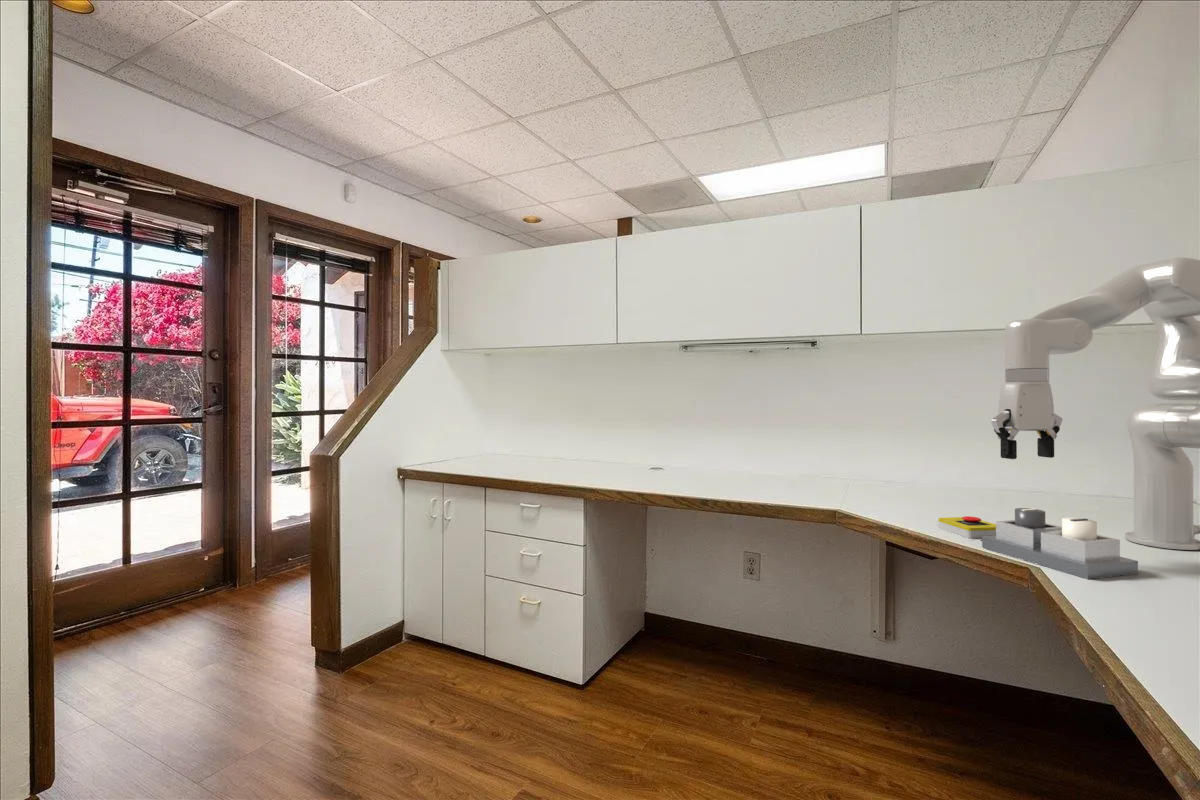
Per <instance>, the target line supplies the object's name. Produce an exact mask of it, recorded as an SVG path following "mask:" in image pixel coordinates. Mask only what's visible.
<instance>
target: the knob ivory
mask: <svg viewBox="0 0 1200 800" xmlns="http://www.w3.org/2000/svg"><path fill="white" fill-rule="evenodd" d="M1097 526H1098V523H1097V521H1095V520H1091V519H1089V518H1079V517H1062V518H1061V527H1062V536H1065V537H1069V538H1074V539H1078V540H1082V541H1088V540H1097V535H1098V533H1097V532H1098V531H1097V528H1098V527H1097Z"/></svg>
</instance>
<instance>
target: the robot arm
mask: <svg viewBox="0 0 1200 800" xmlns="http://www.w3.org/2000/svg"><path fill="white" fill-rule="evenodd" d="M1142 308H1143V311H1144V312H1145V313H1146V315H1147V316H1148V318H1149V319H1150V320H1151V322H1152V324H1153V325H1154V326H1155V329H1156V331H1157V332H1158V339H1159V342H1158V347H1157V351H1156V354H1155V358H1154V361H1153V365H1152V367H1151V371H1150V374H1149V378H1148V379H1149V380H1148V390H1149V392H1150V394H1151V395H1152V396H1154V397H1155V398H1157V399H1160V400H1161V399H1162V400H1168V401H1197V402H1198V401H1200V322H1199V321H1198V320H1197V319H1196V317H1198V316H1199V317H1200V259H1197V258H1191V257H1181V256H1179V257H1173V258H1169V259H1164V260H1159V261H1155V262H1150V263H1145V264H1144V263H1143V264H1140V265H1139V264H1138V265H1136V266H1132V267H1130V268H1128V269H1126V270H1124V271H1123V272H1121V273H1119V274H1117V275H1116V276H1115V277H1112V278H1111V279H1109V280H1108V281H1106V282H1104V283H1103V284H1101V285H1100V286H1098V287H1096V288H1094V289H1093V290H1091V291H1090V292H1087V293H1085V294H1082V295H1079V296H1077V297H1075V298H1072V299H1070V300H1067V301H1066V302H1062V303H1060V304H1057V305H1056V306H1052V307H1050V308H1048V309H1045V310H1043V311H1041V312H1039V313H1037V314H1036V315H1034V316H1031V317H1030V318H1029V319H1028V318H1027V319H1019V320H1013V321H1010V322H1008V323H1006V325H1005V328H1004V368H1005V369H1004V370H1005V371H1004V373H1005V374H1004V379H1005V380H1004V381H1005V383H1004V384H1002V385H1001V388H1000V389H1001V390H1000V393H999V400H998V411H997V412H998V413H997V415H996V416H994V417H993V418H992V419H991V420H990V422H991V424H992V427H993V430H994V431H993V432H995V434H996V435H997V439H998V440H1000V458H1001V459H1006V460H1007V459H1008V460H1016V459H1017V457H1018V456H1017V454H1018V453H1017V451H1018V450H1017V449H1018V448H1017V446H1018V443H1017V439H1015V438H1016V436H1017V435H1018V433H1019V432H1033V431H1034V432H1035V431H1036V433H1037V434H1038V436H1039V437H1038V438H1037V443H1036V444H1037V456H1038V457H1039V458H1040V457H1041V458H1052V459H1054V458H1055V440H1056V439H1057V437H1058V435H1057V434H1058V433H1059V432H1060V430H1061V429H1060V428H1061V425H1062V422H1063V418H1062V417H1061V416H1060V415H1058V414H1056V413H1055V406H1054V399H1053V398H1054V397H1053V392H1052V387H1051V384H1050V355H1055V356H1056V355H1065V354H1068V355H1069V354H1074V353H1077V352H1080V351H1082V350H1085V349H1086V348H1087V347H1088V346H1089V345H1090V344H1091V343H1092V340H1093V335H1094V334H1093V331H1095V330H1099V329H1103V328H1105V327H1109V326H1112V325H1116V324H1117V323H1119V322H1121V321H1123V320H1124V319H1126V318H1127V317H1129V316H1131V315H1132V314H1133V313H1135V312H1137V311H1139V310H1140V309H1142ZM1126 423H1127V424H1126V425H1127V430H1128V435H1129V439H1130V442H1131V446H1132V447H1131V448H1132V455H1133V531H1127V532H1125V533H1124V539H1125V540H1127V541H1129V542H1132V543H1136V544H1139V545H1143V546H1150V547H1153V548H1161V549H1170V550H1182V551H1184V550H1185V551H1197V550H1200V540H1199V539H1195V536H1196V535H1200V524H1198V525H1197V524H1196V525H1195V523H1194V466H1193V464H1192V463H1193V462H1192V461H1191V459H1190V458H1189V456H1188V455H1187V453H1186V452H1185V451H1184V449H1183V448H1190V449H1200V403H1151V404H1144V405H1140V406H1138V407H1135V409H1133V410H1132V411H1131V412H1130V413H1129V415H1128V418H1127V421H1126Z"/></svg>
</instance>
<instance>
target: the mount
mask: <svg viewBox="0 0 1200 800" xmlns="http://www.w3.org/2000/svg"><path fill="white" fill-rule="evenodd" d="M995 524H996V536H984V537H982V541H981V548H982V547H983V548H982V549H984V548H986V549H985V550H988V549H989V550H988V551H991V550H992V551H991V552H994V551H995V552H994V553H998V552H999V553H998V554H1001V553H1002V555H1005V554H1006V555H1005V556H1008V555H1009V556H1008V557H1011V556H1013V557H1012V558H1015V557H1016V558H1015V559H1018V558H1020V559H1019V560H1021V559H1023V560H1022V561H1025V560H1027V561H1026V562H1028V561H1030V562H1029V563H1031V562H1034V563H1033V564H1035V563H1037V564H1036V565H1038V564H1039V566H1042V565H1043V566H1042V567H1045V566H1046V568H1048V567H1049V568H1048V569H1052V570H1055V571H1058V570H1059V571H1060V572H1061V573H1062V572H1063V573H1065V572H1066V574H1068V573H1070V574H1069V575H1072V574H1073V576H1075V575H1076V577H1079V576H1080V577H1079V578H1082V577H1083V578H1082V579H1085V578H1087V580H1093V579H1092V578H1096V579H1102V578H1101V577H1105V578H1111V577H1110V576H1115V577H1121V576H1120V575H1125V576H1131V575H1130V574H1135V575H1139V560H1135V559H1131V558H1128V557H1123V556H1121V553H1120V552H1121V546H1120V545H1121V541H1120V540H1121V539H1119V538H1113V537H1111V536H1106V535H1100V534H1097V540H1088V541H1082V540H1078V539H1074V538H1069V537H1065V536H1062V526H1061V525H1056V524H1051V523H1046V522H1045V528H1036V529H1031V528H1027V527H1023V526H1018V525H1015V519H1012V520H1011V519H1010V520H996V521H995ZM1059 571H1058V572H1059Z"/></svg>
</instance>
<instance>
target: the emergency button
mask: <svg viewBox="0 0 1200 800" xmlns="http://www.w3.org/2000/svg"><path fill="white" fill-rule="evenodd" d="M937 521H938V522H937V526H938V528H940V529H943V530H946V531H948V532H947V533H949V532H951V533H950V534H952V533H954V534H957V535H960V536H962V537H961V538H963V537H965V538H964V539H966V538H968V539H967V540H969V539H971V540H970V541H973V540H982V537H984V536H996V523H992V522H989V521H985V520H982V519H981V518H980V517H977V516H957V517H956V516H953V517H952V516H951V517H938V520H937ZM940 529H939V530H940ZM943 530H942V531H943ZM946 531H945V532H946ZM954 534H953V535H954ZM957 535H956V536H957ZM960 536H959V537H960Z"/></svg>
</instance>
